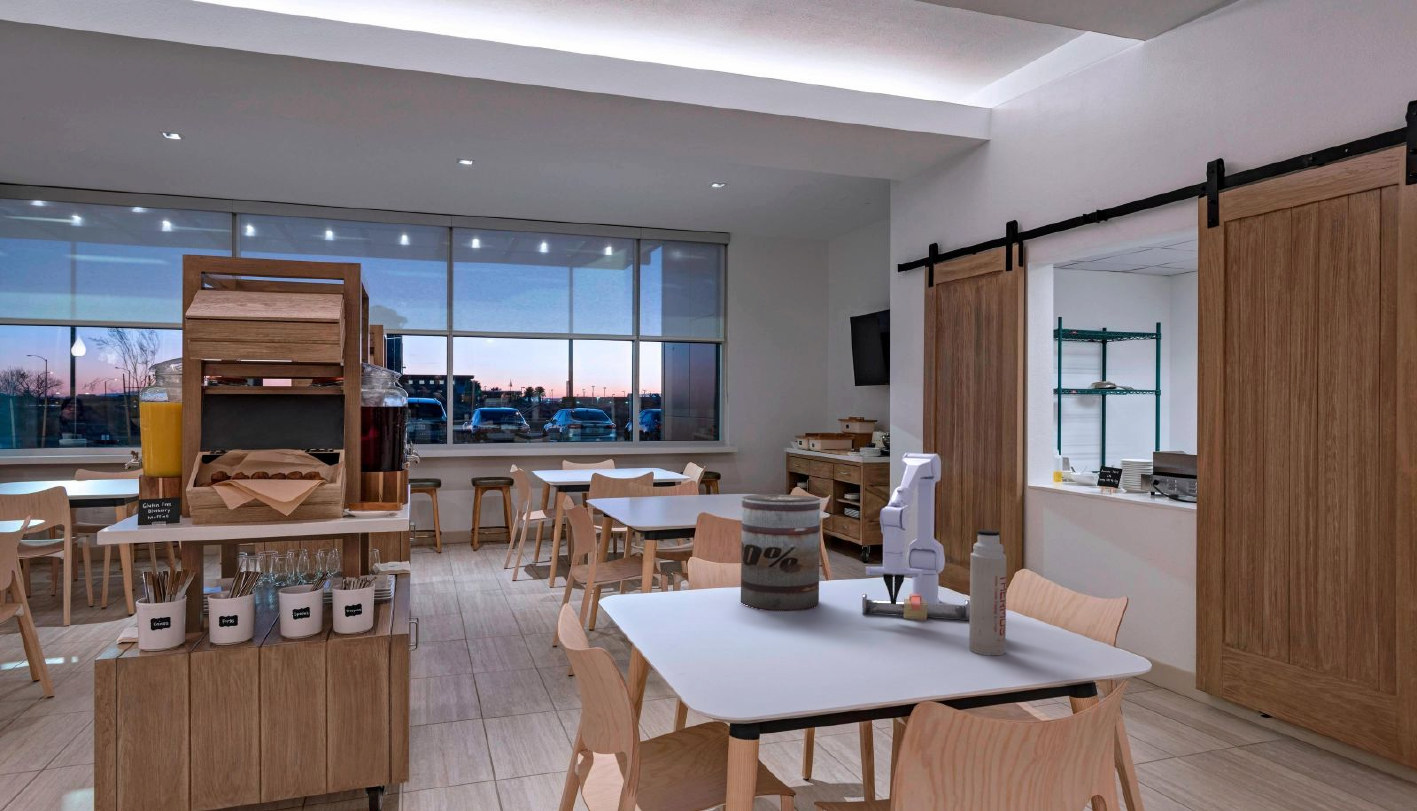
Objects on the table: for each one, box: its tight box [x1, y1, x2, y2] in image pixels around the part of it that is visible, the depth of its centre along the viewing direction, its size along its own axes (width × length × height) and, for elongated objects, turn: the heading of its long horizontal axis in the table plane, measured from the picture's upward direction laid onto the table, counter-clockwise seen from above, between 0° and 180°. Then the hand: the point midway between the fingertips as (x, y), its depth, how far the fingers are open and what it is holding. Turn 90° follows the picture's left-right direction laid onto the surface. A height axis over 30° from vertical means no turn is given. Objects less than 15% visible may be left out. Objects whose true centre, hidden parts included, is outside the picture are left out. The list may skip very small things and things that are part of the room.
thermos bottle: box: [968, 529, 1007, 656], centre depth 200 cm, size 8×8×28 cm
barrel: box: [740, 493, 821, 612], centre depth 248 cm, size 22×22×30 cm
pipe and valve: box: [861, 593, 970, 621], centre depth 233 cm, size 6×28×5 cm, turn 77°
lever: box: [908, 593, 922, 610], centre depth 228 cm, size 14×3×1 cm, turn 167°
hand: (893, 603), depth 227 cm, fingers closed
